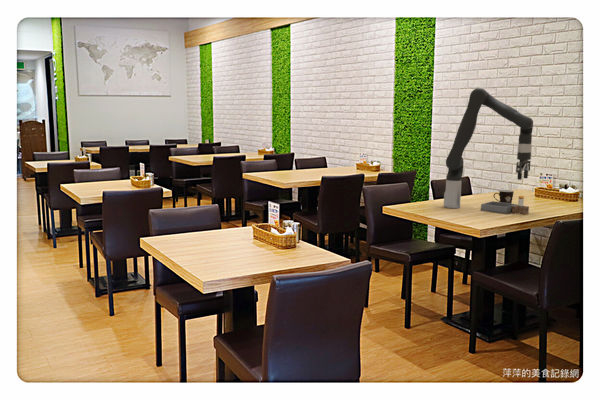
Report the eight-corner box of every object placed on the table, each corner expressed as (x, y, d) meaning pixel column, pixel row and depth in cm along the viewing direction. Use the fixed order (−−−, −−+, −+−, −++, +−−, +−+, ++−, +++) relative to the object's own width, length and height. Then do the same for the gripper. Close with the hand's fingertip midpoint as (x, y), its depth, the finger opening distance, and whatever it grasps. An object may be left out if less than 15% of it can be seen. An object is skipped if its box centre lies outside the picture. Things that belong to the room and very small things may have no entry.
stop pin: (516, 213, 327) (517, 196, 325) (518, 212, 329) (519, 195, 327) (521, 213, 325) (522, 196, 323) (523, 213, 327) (524, 196, 325)
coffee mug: (513, 205, 351) (514, 190, 349) (512, 208, 343) (513, 192, 341) (494, 204, 356) (494, 189, 354) (492, 206, 348) (493, 191, 346)
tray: (480, 210, 335) (481, 204, 334) (492, 207, 345) (492, 201, 344) (506, 214, 324) (506, 207, 323) (517, 210, 334) (517, 204, 333)
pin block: (511, 213, 327) (512, 206, 326) (516, 211, 332) (517, 205, 331) (523, 214, 322) (524, 207, 321) (528, 213, 327) (528, 206, 326)
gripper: (523, 150, 328) (521, 177, 331) (512, 151, 318) (511, 179, 321) (535, 151, 323) (533, 178, 326) (525, 152, 313) (523, 180, 316)
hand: (522, 178), depth 323 cm, fingers open, 8 cm apart
